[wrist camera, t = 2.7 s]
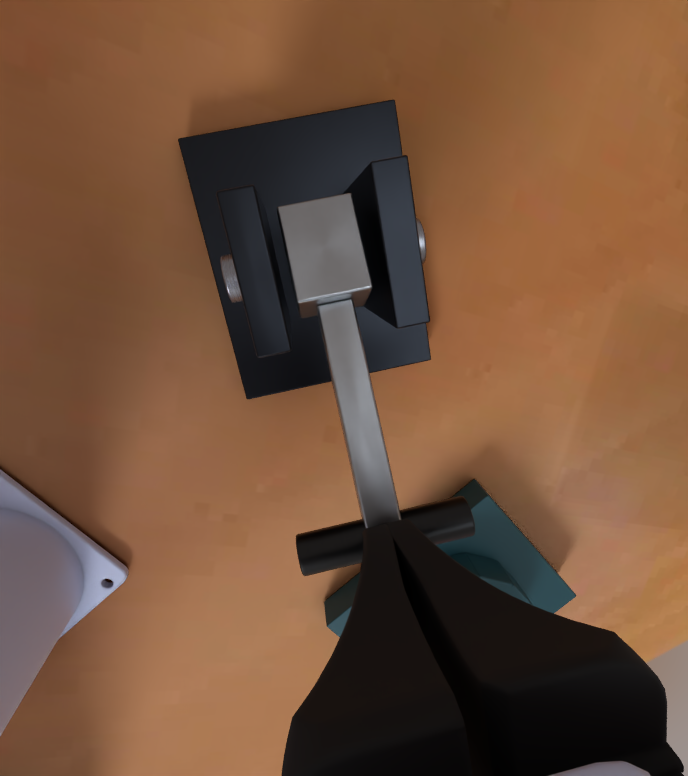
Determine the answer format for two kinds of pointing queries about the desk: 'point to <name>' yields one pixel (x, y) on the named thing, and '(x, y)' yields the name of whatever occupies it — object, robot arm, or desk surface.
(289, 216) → the switch lever
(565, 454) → the desk surface
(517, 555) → the button box
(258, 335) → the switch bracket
